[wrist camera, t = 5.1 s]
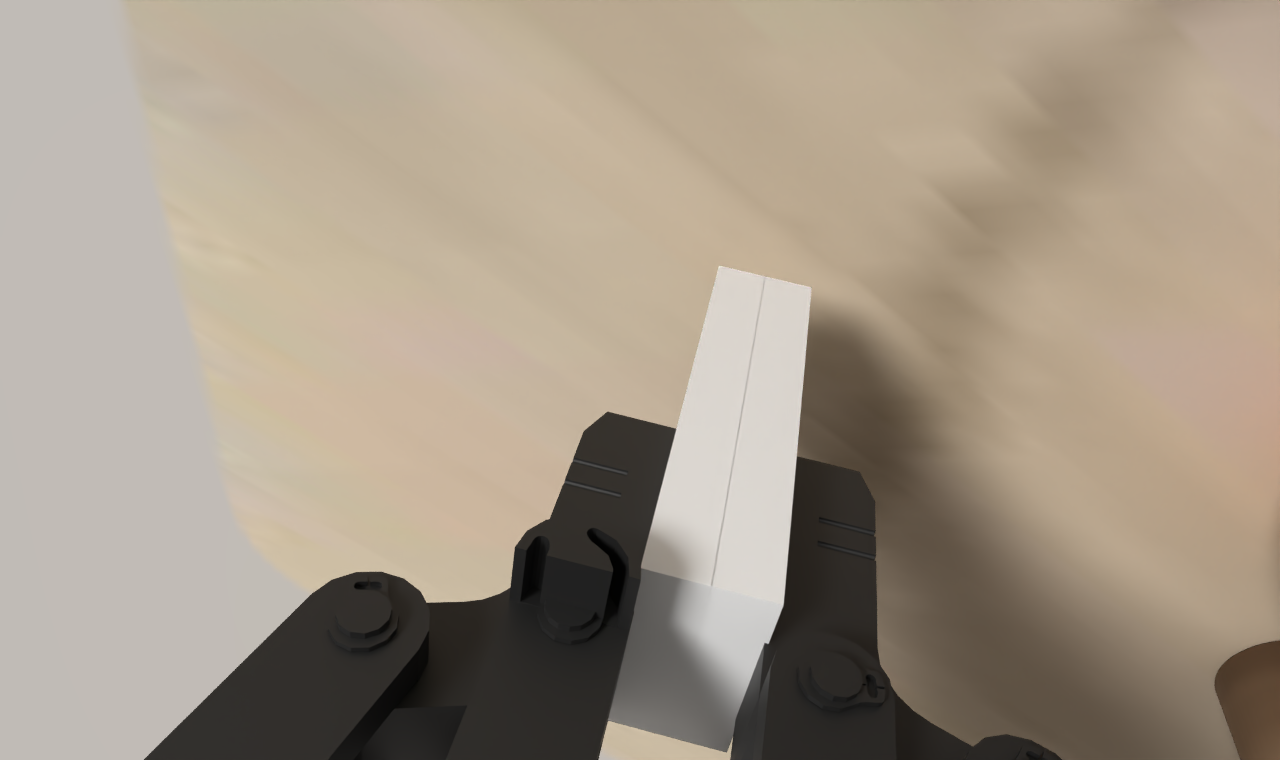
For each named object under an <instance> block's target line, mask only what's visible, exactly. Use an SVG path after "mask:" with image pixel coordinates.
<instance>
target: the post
mask: <svg viewBox="0 0 1280 760" xmlns="http://www.w3.org/2000/svg"><path fill="white" fill-rule="evenodd" d="M1215 690H1216V693H1217V696H1218V699H1219V701H1220V704H1221V707H1222V710H1223V712H1224V715H1225V718H1226V721H1227V723H1228V726H1229V729H1230V732H1231V734H1232V737H1233V740H1234V743H1235V745H1236V748H1237V751H1238V754H1239V756H1240V759H1241V760H1280V641H1275V642H1269V643H1264V644H1260V645H1257V646H1254V647H1251V648H1248V649H1246V650H1244V651H1241V652H1239V653H1238V654H1236V655H1234V656H1233V657H1231V658H1230V659H1229V660H1227V661H1226V662H1225V663H1224V664H1223V665H1222V667H1221V668H1220V669H1219V671H1218V673H1217V675H1216V678H1215Z"/></svg>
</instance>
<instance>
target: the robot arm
mask: <svg viewBox="0 0 1280 760" xmlns="http://www.w3.org/2000/svg"><path fill="white" fill-rule="evenodd" d="M811 289H812V287H808V286H803V285H799V284H795V283H791V282H787V281H782V280H778V279H774V278H770V277H765V276H761V275H757V274H753V273H749V272H744V271H740V270H736V269H732V268H727V267H723V266H719V268H718V272H717V275H716V279H715V283H714V287H713V291H712V295H711V298H710V302H709V306H708V310H707V314H706V318H705V321H704V325H703V329H702V333H701V337H700V341H699V345H698V348H697V352H696V356H695V360H694V364H693V368H692V371H691V375H690V379H689V383H688V387H687V391H686V394H685V398H684V402H683V406H682V410H681V414H680V417H679V421H678V425H677V429H675V428H671V427H667V426H663V425H659V424H655V423H651V422H647V421H643V420H639V419H635V418H631V417H627V416H623V415H619V414H615V413H610V412H607V413H605V414H604V415H603V416H602V417H601V418H599V419H598V420H597V421H596V422H594V423H593V424H592V425H591V426H590V427H588V428H587V429H586V430H585V431H584V432H583V435H582V438H581V440H580V443H579V445H578V448H577V450H576V453H575V456H574V459H573V462H572V463H571V466H570V468H569V471H568V474H567V476H566V479H565V483H564V484H563V486H562V489H561V492H560V494H559V497H558V499H557V502H556V504H555V507H554V510H553V512H552V515H551V517H550V519H549V520H545V521H543V522H542V523H540V524H538V525H536V526H535V527H533V528H531V529H530V530H528V531H527V532H526V533H525V534H524V536H523V537H522V538H521V540H520V541H519V542H518V544H517V545H516V547H515V552H514V561H513V570H512V579H511V588H509V589H508V590H506V591H504V592H502V593H501V594H498V595H495V596H492V597H489V598H486V599H483V600H476V601H468V602H441V603H426V601H425V599H424V597H423V595H422V593H421V592H420V591H419V590H418V589H417V588H415V587H414V586H413V585H411V584H410V583H409V582H407V581H406V580H405V579H403V578H400V577H397V576H393V575H390V574H387V573H383V572H355V573H352V574H349V575H346V576H343V577H339V578H336V579H333V580H331V581H330V582H328V583H327V584H325V585H324V586H322V587H321V588H320V589H318V590H317V591H315V592H314V593H312V594H311V595H310V596H309V597H308V598H307V599H306V600H305V601H304V602H303V603H302V604H301V605H300V606H299V607H298V608H297V609H296V610H295V611H294V612H293V613H292V614H291V615H290V616H289V617H288V618H287V619H286V620H285V621H284V622H283V623H282V624H281V625H280V626H279V627H278V628H277V629H276V630H275V631H274V632H273V633H272V634H271V635H270V636H269V637H268V638H267V639H266V640H265V641H264V642H263V643H262V644H261V645H260V646H259V647H258V648H257V649H256V650H254V652H252V653H251V654H250V655H249V656H248V658H246V659H245V660H244V661H243V663H241V664H240V665H239V666H238V667H237V668H236V669H235V671H233V672H232V673H231V674H230V675H229V676H228V677H227V678H226V679H225V680H224V681H223V682H222V683H221V684H220V685H219V686H218V687H217V688H216V689H215V690H214V691H213V692H212V693H211V694H210V695H209V696H208V697H207V698H206V699H205V700H204V701H203V702H202V703H201V704H200V705H199V706H198V707H197V708H196V709H195V710H194V711H193V712H192V713H191V714H190V715H189V716H188V717H187V718H186V719H185V720H184V721H183V722H182V723H180V724H179V725H178V726H177V728H175V729H174V730H173V731H172V732H171V733H170V734H169V735H168V736H167V737H166V738H165V739H164V740H163V741H162V742H161V743H160V744H159V745H158V746H157V747H156V748H155V749H154V750H153V751H152V752H151V753H150V754H149V755H148V756H147V757H146V758H145V759H144V760H598V759H599V755H600V750H601V746H602V742H603V738H604V734H605V730H606V726H607V722H608V721H612V722H615V723H619V724H623V725H627V726H630V727H634V728H638V729H641V730H645V731H649V732H652V733H656V734H660V735H664V736H667V737H671V738H675V739H678V740H682V741H686V742H690V743H693V744H697V745H701V746H704V747H708V748H712V749H716V750H719V751H723V752H727V750H728V748H729V745H730V743H731V740H732V738H733V743H732V751H731V759H730V760H1062V759H1061V758H1060V757H1059V756H1057V755H1056V754H1055V753H1053V752H1051V751H1049V750H1048V749H1046V748H1044V747H1042V746H1041V745H1039V744H1037V743H1035V742H1033V741H1032V740H1028V739H1024V738H1019V737H1015V736H1010V735H1000V736H993V737H987V738H984V739H983V740H981V741H980V742H979V743H978V744H976V745H975V746H974V747H972V746H970V745H969V744H967V743H965V742H963V741H962V740H960V739H958V738H956V737H955V736H953V735H951V734H949V733H948V732H946V731H944V730H942V729H941V728H939V727H937V726H935V725H934V724H932V723H930V722H929V721H927V720H926V719H924V718H923V717H921V716H920V715H919V714H917V713H916V712H914V711H913V710H912V709H911V708H910V707H909V706H908V705H907V704H906V703H905V702H904V701H903V700H902V699H901V698H900V697H898V695H897V694H896V692H895V691H894V690H893V688H892V687H891V684H890V679H889V678H888V676H887V675H886V673H885V672H884V670H883V669H882V667H881V665H880V661H879V655H878V649H877V591H876V561H875V556H876V537H874V535H875V531H876V530H875V501H874V499H873V497H872V495H871V493H870V491H869V489H868V487H867V485H866V483H865V481H864V480H863V478H862V476H861V474H860V472H858V471H854V470H850V469H846V468H842V467H838V466H834V465H830V464H826V463H821V462H817V461H813V460H809V459H805V458H801V457H797V447H798V436H799V425H800V413H801V402H802V391H803V379H804V368H805V357H806V345H807V334H808V323H809V311H810V300H811Z"/></svg>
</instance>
